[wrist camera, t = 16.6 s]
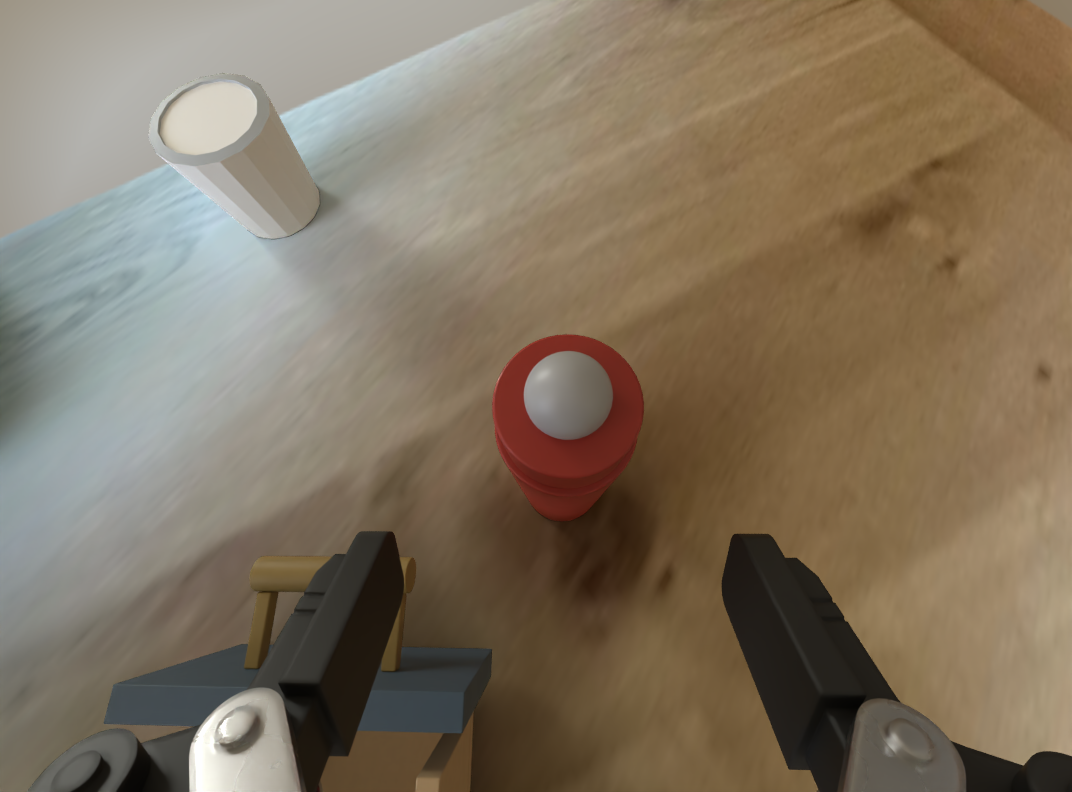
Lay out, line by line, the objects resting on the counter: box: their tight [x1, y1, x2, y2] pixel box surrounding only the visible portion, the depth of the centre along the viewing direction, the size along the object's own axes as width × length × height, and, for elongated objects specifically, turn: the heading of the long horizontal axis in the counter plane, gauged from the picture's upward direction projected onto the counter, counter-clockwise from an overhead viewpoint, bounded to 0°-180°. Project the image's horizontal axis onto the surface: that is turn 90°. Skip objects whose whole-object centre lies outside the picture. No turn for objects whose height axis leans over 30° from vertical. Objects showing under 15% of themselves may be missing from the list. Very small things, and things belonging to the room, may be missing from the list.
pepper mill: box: [492, 335, 644, 521], centre depth 17 cm, size 4×4×16 cm
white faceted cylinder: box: [148, 73, 320, 239], centre depth 29 cm, size 7×7×7 cm
